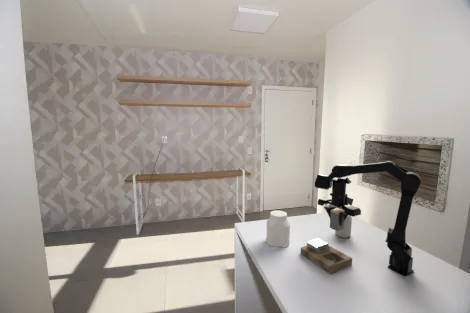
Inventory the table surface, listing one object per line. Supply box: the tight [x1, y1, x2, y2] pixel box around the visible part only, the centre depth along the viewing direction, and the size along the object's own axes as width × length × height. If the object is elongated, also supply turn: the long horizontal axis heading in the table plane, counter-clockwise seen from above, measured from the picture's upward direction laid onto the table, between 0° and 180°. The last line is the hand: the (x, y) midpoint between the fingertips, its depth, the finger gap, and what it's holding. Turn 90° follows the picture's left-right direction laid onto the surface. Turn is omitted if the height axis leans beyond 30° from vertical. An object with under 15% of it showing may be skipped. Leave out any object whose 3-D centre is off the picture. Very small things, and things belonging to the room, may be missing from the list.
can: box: [334, 215, 353, 239], centre depth 115 cm, size 8×8×12 cm
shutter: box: [306, 238, 332, 254], centre depth 96 cm, size 7×7×3 cm
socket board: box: [300, 245, 353, 275], centre depth 93 cm, size 16×13×3 cm
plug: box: [329, 208, 344, 231], centre depth 101 cm, size 4×4×9 cm
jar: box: [265, 210, 291, 248], centre depth 107 cm, size 12×10×15 cm
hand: (336, 223), depth 101 cm, fingers closed on plug, 4 cm apart
